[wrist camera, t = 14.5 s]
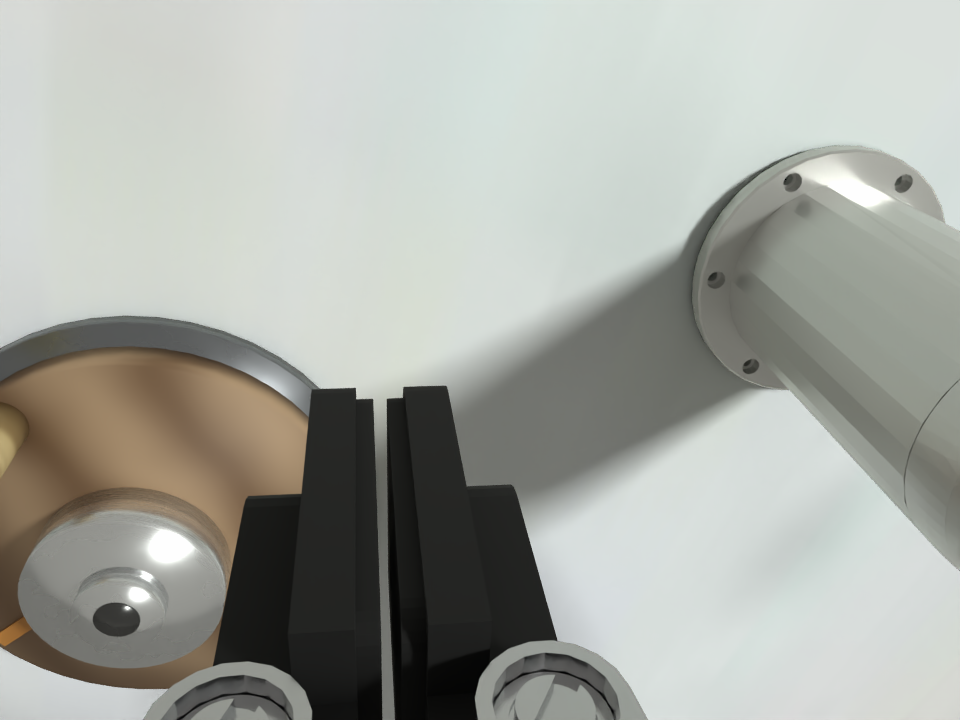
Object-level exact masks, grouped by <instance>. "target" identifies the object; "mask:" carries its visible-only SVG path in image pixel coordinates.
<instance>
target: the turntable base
mask: <svg viewBox="0 0 960 720" xmlns="http://www.w3.org/2000/svg"><path fill="white" fill-rule="evenodd" d="M126 346H133V347H149V348H162V349H168V350H174V351H179V352H185V353H191V354H194V355H198V356H201V357H205V358H208V359H211V360H215V361H218V362H221V363H224V364H226V365H228V366H231V367H233V368H236V369H238V370H241V371H243V372H245V373H247V374H249V375H251V376H253V377H255V378H256V379H258V380H260V381H262V382H264V383H266V384H267V385H269V386H271V387H272V388H274V389H275V390H276V391H278V392H279V393H281V394H282V395H283V396H285V397H286V398H288V399H289V400H290V401H292V402H293V403H294V404H295V405H296V406H297V407H298V408H299V409H301V410H302V411H303V412H304V413H305V414H306V415H307V416H308V417H309V410H310V399H311V391H312V389H320V388H318V387H317V386H316V385H315V384H314V383H313V382H312V381H311V380H310V379H308V378H307V377H306V376H305V375H304V374H303V373H301V372H300V371H299V370H297V369H296V368H294V367H293V366H291V365H290V364H288V363H287V362H286V361H284V360H283V359H281V358H280V357H278V356H276V355H275V354H273V353H271V352H269V351H267V350H265V349H263V348H261V347H259V346H258V345H256V344H254V343H252V342H249V341H247V340H244V339H242V338H239V337H237V336H234V335H232V334H229V333H227V332H224V331H221V330H217V329H214V328H210V327H206V326H203V325H199V324H195V323H192V322H186V321H179V320H173V319H166V318H160V317H141V316H116V317H102V318H90V319H85V320H80V321H75V322H70V323H64V324H60V325H57V326H53V327H50V328H47V329H44V330H41V331H38V332H35V333H32V334H29V335H27V336H25V337H23V338H21V339H19V340H17V341H15V342H13V343H11V344H8V345H6V346H4V347H2V348H1V349H0V381H2V380H4V379H5V378H7V377H9V376H10V375H12V374H14V373H15V372H17V371H19V370H22V369H24V368H26V367H29V366H31V365H33V364H35V363H38V362H40V361H43V360H46V359H49V358H53V357H56V356H60V355H63V354H67V353H70V352H76V351H83V350H89V349H95V348H104V347H126Z"/></svg>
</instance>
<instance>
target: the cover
mask: <svg viewBox="0 0 960 720" xmlns="http://www.w3.org/2000/svg"><path fill="white" fill-rule="evenodd" d="M230 569H231V556H230V550H229V547H228V544H227V541H226V539H225V537H224V535H223V534H222V532H221V530H220V529H219V528H218V526H217V525H216V524H215V523H214V522H213V521H212V519H211V518H210V517H209V516H208V515H206V514H205V513H204V512H203V511H201V510H200V509H199V508H197V507H196V506H194V505H192V504H191V503H189V502H187V501H185V500H183V499H181V498H178V497H176V496H173V495H170V494H168V493H165V492H160V491H156V490H152V489H144V488H132V487H122V488H110V489H104V490H99V491H95V492H92V493H89V494H86V495H83V496H81V497H79V498H76V499H74V500H73V501H71V502H69V503H67V504H66V505H64V506H63V507H62V508H60V509H59V510H58V511H57V512H56V513H55V514H54V515H53V516H52V517H51V518H50V519H49V520H48V522H47V523H46V525H45V526H44V528H43V530H42V532H41V534H40V536H39V538H38V540H37V542H36V544H35V546H34V548H33V550H32V552H31V554H30V556H29V558H28V560H27V562H26V564H25V566H24V568H23V570H22V572H21V575H20V578H19V583H18V599H19V605H20V608H21V611H22V613H23V615H24V617H25V619H26V621H27V623H28V624H29V625H30V627H31V628H32V629H33V631H34V632H35V633H36V634H37V635H38V636H39V637H40V638H41V639H43V640H44V641H45V642H46V643H48V644H49V645H50V646H52V647H53V648H55V649H57V650H58V651H60V652H62V653H64V654H66V655H68V656H70V657H72V658H75V659H77V660H80V661H83V662H86V663H90V664H94V665H98V666H104V667H112V668H142V667H150V666H155V665H160V664H164V663H167V662H171V661H173V660H176V659H178V658H181V657H183V656H185V655H186V654H188V653H190V652H192V651H193V650H195V649H196V648H198V647H199V646H200V645H202V644H203V643H204V642H205V641H206V640H207V639H208V638H209V637H210V635H211V634H212V633H213V632H214V630H215V629H216V627H217V625H218V624H219V621H220V619H221V616H222V613H223V607H224V602H225V596H226V591H227V586H228V580H229V575H230Z"/></svg>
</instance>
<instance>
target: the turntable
mask: <svg viewBox="0 0 960 720" xmlns="http://www.w3.org/2000/svg"><path fill="white" fill-rule="evenodd" d="M308 420H309V417H308V416H307V415H306V414H305V413H304V412H303V411H302V410H301V409H299V408H298V407H297V406H296V405H295V404H294V403H293V402H292V401H290V400H289V399H288V398H286V397H285V396H283V395H282V394H281V393H279V392H278V391H276V390H275V389H274V388H272V387H271V386H269V385H267V384H266V383H264V382H262V381H260V380H258V379H256V378H255V377H253V376H251V375H249V374H247V373H245V372H243V371H241V370H238V369H236V368H233V367H231V366H228V365H226V364H224V363H221V362H218V361H215V360H211V359H208V358H205V357H201V356H198V355H194V354H191V353H185V352H179V351H174V350H168V349H162V348H149V347H133V346H126V347H104V348H95V349H89V350H83V351H76V352H70V353H67V354H63V355H60V356H56V357H53V358H49V359H46V360H43V361H40V362H38V363H35V364H33V365H31V366H29V367H26V368H24V369H22V370H19V371H17V372H15V373H14V374H12V375H10V376H9V377H7V378H5V379H4V380H2V381H0V647H2V648H3V649H5V650H7V651H8V652H10V653H12V654H13V655H15V656H17V657H19V658H21V659H23V660H25V661H27V662H29V663H32V664H34V665H36V666H38V667H40V668H43V669H46V670H48V671H51V672H54V673H57V674H60V675H62V676H66V677H69V678H73V679H77V680H81V681H85V682H89V683H94V684H100V685H106V686H112V687H122V688H135V689H169V688H171V687H172V686H173V685H174V684H176V683H178V682H179V681H181V680H183V679H185V678H186V677H188V676H190V675H192V674H193V673H195V672H197V671H200V670H203V669H206V668H210V667H213V662H214V657H215V652H216V647H217V642H218V637H219V631H220V626H221V621H222V616H223V613H222V616H221V619H220V621H219V624H218V625H217V627H216V629H215V630H214V632H213V633H212V634H211V635H210V637H209V638H208V639H207V640H206V641H205V642H204V643H203V644H202V645H200V646H199V647H198V648H196V649H195V650H193V651H192V652H190V653H188V654H186V655H185V656H183V657H181V658H178V659H176V660H173V661H171V662H167V663H164V664H160V665H155V666H150V667H142V668H112V667H104V666H98V665H94V664H90V663H86V662H83V661H80V660H77V659H75V658H72V657H70V656H68V655H66V654H64V653H62V652H60V651H58V650H57V649H55V648H53V647H52V646H50V645H49V644H48V643H46V642H45V641H44V640H43V639H41V638H40V637H39V636H38V635H37V634H36V633H35V632H34V631H33V629H32V628H31V627H30V625H29V624H28V623H27V621H26V619H25V617H24V615H23V613H22V611H21V608H20V605H19V599H18V583H19V578H20V575H21V572H22V570H23V568H24V566H25V564H26V562H27V560H28V558H29V556H30V554H31V552H32V550H33V548H34V546H35V544H36V542H37V540H38V538H39V536H40V534H41V532H42V530H43V528H44V526H45V525H46V523H47V522H48V520H49V519H50V518H51V517H52V516H53V515H54V514H55V513H56V512H57V511H58V510H59V509H60V508H62V507H63V506H64V505H66V504H67V503H69V502H71V501H73V500H74V499H76V498H79V497H81V496H83V495H86V494H89V493H92V492H95V491H99V490H104V489H110V488H122V487H132V488H144V489H152V490H156V491H160V492H165V493H168V494H170V495H173V496H176V497H178V498H181V499H183V500H185V501H187V502H189V503H191V504H192V505H194V506H196V507H197V508H199V509H200V510H201V511H203V512H204V513H205V514H206V515H208V516H209V517H210V518H211V519H212V521H213V522H214V523H215V524H216V525H217V526H218V528H219V529H220V530H221V532H222V534H223V535H224V537H225V539H226V541H227V544H228V547H229V550H230V556H231V569H232V564H233V559H234V554H235V549H236V543H237V538H238V533H239V528H240V523H241V518H242V512H243V507H244V504H245V500H246V498H247V497H248V496H259V495H282V494H301V492H302V482H303V472H304V461H305V451H306V441H307V430H308ZM231 569H230V574H231ZM229 580H230V575H229ZM229 580H228V585H229ZM227 590H228V586H227ZM226 595H227V591H226ZM225 600H226V596H225ZM224 606H225V602H224ZM223 611H224V607H223Z"/></svg>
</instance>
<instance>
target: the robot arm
mask: <svg viewBox="0 0 960 720" xmlns="http://www.w3.org/2000/svg"><path fill="white" fill-rule="evenodd" d="M787 176H788V178H787V180H786V181H785V182H784V180H785V178H786V177H787ZM712 273H713V275H712V276H711V277H709V276H710V275H711V274H712ZM692 304H693V309H694V315H695V321H696V324H697V326H698V328H699V331H700V333H701V335H702V338H703V340H704V341H705V343H706V344H707V346H708V347H709V348H710V350H711V351H712V352H713V354H714V355H715V356H716V357H717V358H718V359H719V360H720V362H721V363H722V364H723V365H724V366H725V367H726V368H727V369H728V370H730V371H731V372H732V373H734V374H735V375H737V376H738V377H740V378H741V379H743V380H745V381H748V382H751V383H753V384H756V385H759V386H761V387H766V388H773V389H779V390H790V391H791V392H792V393H793V394H794V396H795V397H796V398H797V399H798V400H799V401H800V402H801V403H802V404H803V405H804V406H805V407H806V409H807V410H808V411H809V412H810V413H811V414H812V415H813V416H814V417H815V418H816V419H817V420H818V422H819V423H820V424H821V425H822V426H823V427H824V428H825V429H826V430H827V431H828V432H829V433H830V435H831V436H832V437H833V438H834V439H835V440H836V441H837V442H838V443H839V444H840V445H841V446H842V448H843V449H844V450H845V451H846V452H847V453H848V454H849V455H850V456H851V457H852V458H853V459H854V461H855V462H856V463H857V464H858V465H859V466H860V467H861V468H862V469H863V470H864V471H865V472H866V474H867V475H868V476H869V477H870V478H871V479H872V480H873V481H874V482H875V483H876V484H877V485H878V487H879V488H880V489H881V490H882V491H883V492H884V493H885V494H886V495H887V496H888V497H889V499H890V500H891V501H892V502H893V503H894V504H895V505H896V506H897V507H898V508H899V509H900V510H901V512H902V513H903V514H904V515H905V516H906V517H907V518H908V519H909V520H910V521H911V522H912V523H913V525H914V526H915V527H916V528H917V529H918V530H919V531H920V532H921V533H922V534H923V535H924V537H925V538H926V539H927V540H928V541H929V542H930V543H931V544H932V545H933V546H934V547H935V548H936V549H937V550H938V552H939V553H940V554H941V555H942V556H943V557H945V558H946V559H947V560H948V561H949V562H950V563H951V564H952V565H953V566H954V567H956V568H957V569H958V570H959V571H960V231H959V230H957V229H955V228H953V227H951V226H949V225H947V224H946V223H945V219H944V214H943V210H942V206H941V204H940V202H939V200H938V198H937V196H936V194H935V192H934V190H933V188H932V187H931V185H930V184H929V183H928V182H927V181H926V180H925V178H924V177H923V176H922V175H921V174H920V173H919V172H918V171H917V170H915V169H914V168H912V167H911V166H909V165H908V164H907V163H905V162H904V161H902V160H900V159H898V158H896V157H894V156H891V155H889V154H887V153H884V152H882V151H879V150H875V149H871V148H866V147H862V146H844V145H834V146H828V147H823V148H818V149H812V150H808V151H806V152H803V153H800V154H798V155H795V156H792V157H790V158H787V159H785V160H783V161H781V162H779V163H778V164H776V165H774V166H772V167H771V168H769V169H767V170H766V171H764V172H762V173H761V174H759V175H758V176H757V177H756V178H755V179H753V180H752V181H751V182H750V183H748V184H747V185H746V186H745V187H744V188H742V189H741V190H740V191H739V192H738V193H737V194H736V196H735V197H734V198H733V199H732V200H731V201H730V202H729V203H728V205H727V206H726V207H725V208H724V209H723V210H722V211H721V213H720V215H719V216H718V218H717V219H716V221H715V222H714V224H713V226H712V227H711V229H710V230H709V232H708V234H707V236H706V238H705V241H704V243H703V245H702V248H701V250H700V252H699V255H698V258H697V263H696V267H695V271H694V276H693V287H692ZM387 487H388V578H389V602H390V623H391V644H392V665H393V686H394V707H395V720H648V719H647V717H646V715H645V713H644V712H643V710H642V708H641V706H640V704H639V702H638V701H637V699H636V697H635V695H634V693H633V691H632V689H631V688H630V686H629V685H628V683H627V682H626V681H625V679H624V678H623V677H622V675H621V674H620V673H619V671H618V670H617V669H616V668H615V667H614V666H612V665H611V664H610V663H609V662H607V661H606V660H605V659H603V658H602V657H601V656H599V655H598V654H596V653H594V652H592V651H589V650H587V649H585V648H583V647H580V646H578V645H576V644H570V643H565V642H559V641H557V637H556V634H555V630H554V627H553V623H552V619H551V616H550V612H549V609H548V605H547V602H546V598H545V594H544V591H543V587H542V584H541V580H540V576H539V573H538V569H537V566H536V562H535V558H534V555H533V551H532V548H531V544H530V541H529V537H528V533H527V530H526V526H525V523H524V519H523V515H522V512H521V508H520V505H519V501H518V498H517V494H516V492H515V489H514V487H513V486H512V485H491V486H468V487H466V482H465V477H464V471H463V466H462V461H461V456H460V451H459V446H458V441H457V435H456V430H455V425H454V420H453V415H452V410H451V404H450V399H449V394H448V389H447V386H417V387H404V388H403V398H391V399H387ZM143 720H382V670H381V620H380V588H379V558H378V529H377V499H376V470H375V441H374V411H373V399H356V388H340V389H312V391H311V399H310V410H309V420H308V430H307V441H306V451H305V461H304V472H303V482H302V492H301V494H282V495H259V496H248V497H247V498H246V500H245V504H244V507H243V512H242V518H241V523H240V528H239V533H238V538H237V543H236V549H235V554H234V559H233V564H232V569H231V574H230V580H229V585H228V590H227V595H226V600H225V606H224V611H223V616H222V621H221V626H220V631H219V637H218V642H217V647H216V652H215V657H214V662H213V667H210V668H206V669H203V670H200V671H197V672H195V673H193V674H192V675H190V676H188V677H186V678H185V679H183V680H181V681H179V682H178V683H176V684H174V685H173V686H172V687H171V688H169V689H168V690H167V691H166V692H165V693H164V694H163V695H162V696H161V697H160V698H159V699H158V700H157V701H155V702H154V703H153V705H152V706H151V708H150V709H149V711H148V712H147V714H146V716H145V717H144V719H143Z"/></svg>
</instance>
